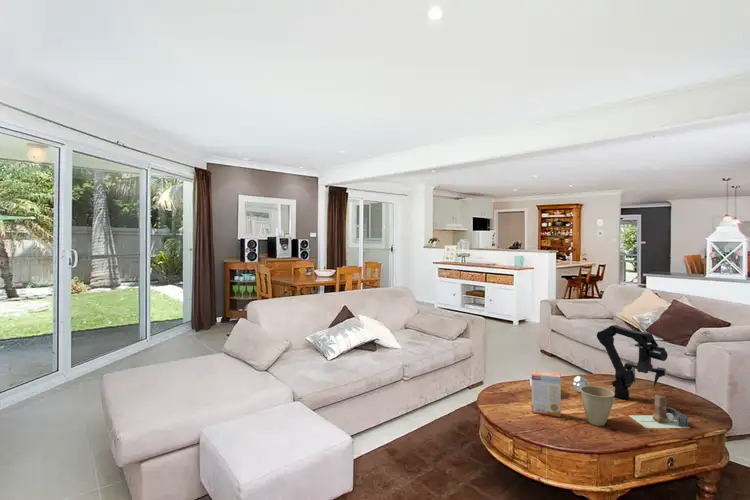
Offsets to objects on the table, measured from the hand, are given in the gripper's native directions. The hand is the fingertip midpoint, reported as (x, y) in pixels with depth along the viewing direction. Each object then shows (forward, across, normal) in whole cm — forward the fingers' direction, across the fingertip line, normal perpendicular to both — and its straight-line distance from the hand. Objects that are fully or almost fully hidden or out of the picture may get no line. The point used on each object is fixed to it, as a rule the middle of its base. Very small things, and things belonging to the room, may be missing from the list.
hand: (644, 384), depth 226 cm
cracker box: (+12, -37, -44) cm, 59 cm away
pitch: (+12, +9, -20) cm, 25 cm away
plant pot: (+12, -14, -39) cm, 43 cm away
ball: (+9, +13, -16) cm, 22 cm away
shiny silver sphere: (+12, -32, -1) cm, 34 cm away
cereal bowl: (+12, -48, -15) cm, 52 cm away
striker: (+11, +10, -19) cm, 24 cm away
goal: (+11, +15, -14) cm, 23 cm away
